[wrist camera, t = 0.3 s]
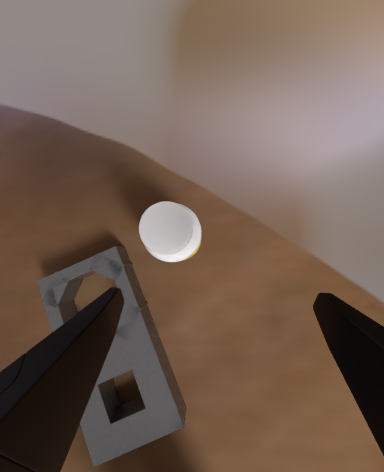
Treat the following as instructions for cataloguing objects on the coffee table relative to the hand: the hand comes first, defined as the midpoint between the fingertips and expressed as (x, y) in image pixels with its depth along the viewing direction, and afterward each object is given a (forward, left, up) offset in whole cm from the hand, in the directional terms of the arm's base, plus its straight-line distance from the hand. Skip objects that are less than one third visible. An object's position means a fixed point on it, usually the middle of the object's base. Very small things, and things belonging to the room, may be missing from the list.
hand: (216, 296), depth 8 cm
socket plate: (-3, +13, -14) cm, 20 cm away
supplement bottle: (+5, +1, -14) cm, 15 cm away
